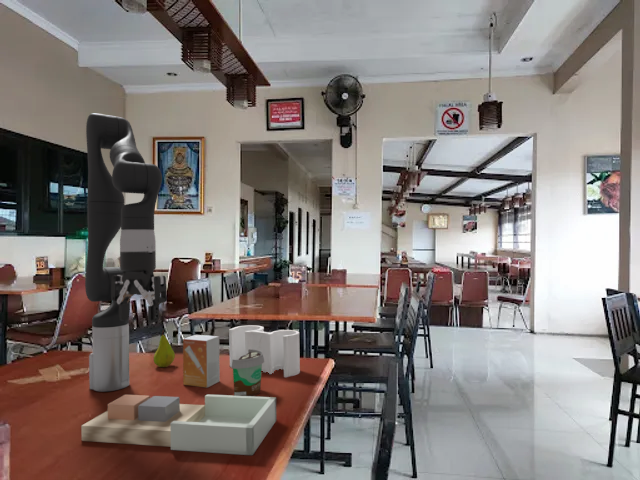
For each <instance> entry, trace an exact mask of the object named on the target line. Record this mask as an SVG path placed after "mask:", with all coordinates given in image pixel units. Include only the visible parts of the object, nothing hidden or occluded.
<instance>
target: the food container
mask: <svg viewBox="0 0 640 480" xmlns="http://www.w3.org/2000/svg"><path fill="white" fill-rule="evenodd" d="M262 363H264V357H263V354H262V352H261V351H258V350H250V349H248V354H246V355H244V356H241V357H240V358H239V359H238V360H233V362H232V367H231V369H232V375H233V377H232V378H233V380H232V381H233V393H234V395H233V396H255V397H257V395H259V394H260V393H261V384H262V372H261V371H262Z"/></svg>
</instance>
